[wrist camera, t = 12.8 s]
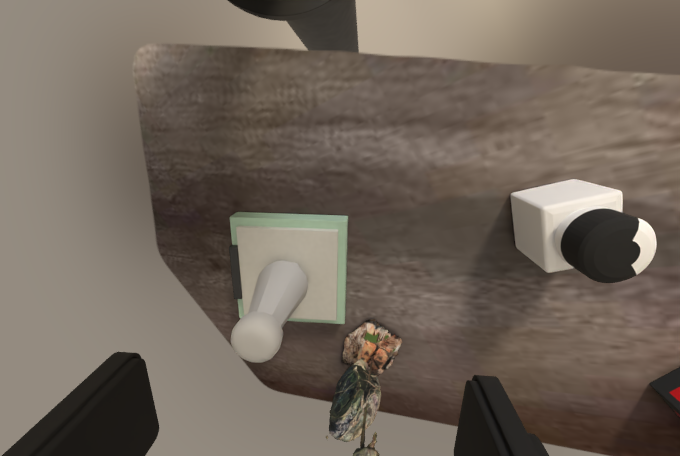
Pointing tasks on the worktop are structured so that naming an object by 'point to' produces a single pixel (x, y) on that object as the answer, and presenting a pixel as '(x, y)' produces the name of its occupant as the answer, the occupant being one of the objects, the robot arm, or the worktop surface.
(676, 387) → the cleaning product box
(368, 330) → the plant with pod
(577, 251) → the medicine bottle
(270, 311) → the salt shaker
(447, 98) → the worktop surface
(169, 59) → the worktop surface
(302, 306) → the scale
